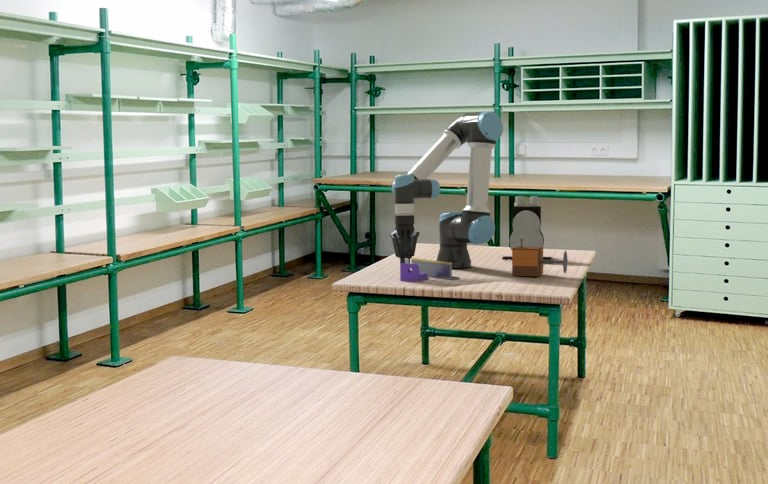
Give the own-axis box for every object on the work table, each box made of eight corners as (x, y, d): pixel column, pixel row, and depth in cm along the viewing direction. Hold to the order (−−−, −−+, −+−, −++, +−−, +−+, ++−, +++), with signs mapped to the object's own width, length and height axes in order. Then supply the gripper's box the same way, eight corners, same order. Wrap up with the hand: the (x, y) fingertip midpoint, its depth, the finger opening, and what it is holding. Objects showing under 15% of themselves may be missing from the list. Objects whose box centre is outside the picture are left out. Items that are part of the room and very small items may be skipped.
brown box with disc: (562, 277, 334) (562, 240, 333) (512, 275, 342) (512, 239, 340) (567, 274, 344) (568, 238, 342) (518, 272, 351) (518, 237, 350)
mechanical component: (552, 260, 399) (553, 195, 396) (550, 264, 378) (551, 196, 376) (505, 259, 404) (505, 195, 401) (501, 264, 383) (501, 196, 381)
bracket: (417, 282, 325) (417, 264, 324) (400, 281, 327) (400, 263, 327) (427, 278, 336) (427, 261, 335) (411, 278, 338) (411, 260, 338)
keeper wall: (421, 273, 350) (421, 257, 350) (459, 278, 331) (459, 261, 330) (411, 274, 348) (411, 258, 347) (449, 279, 328) (449, 262, 328)
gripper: (412, 213, 339) (412, 272, 341) (385, 214, 332) (386, 275, 334) (423, 214, 333) (424, 274, 335) (396, 215, 326) (397, 277, 328)
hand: (405, 275), depth 334 cm, fingers closed
